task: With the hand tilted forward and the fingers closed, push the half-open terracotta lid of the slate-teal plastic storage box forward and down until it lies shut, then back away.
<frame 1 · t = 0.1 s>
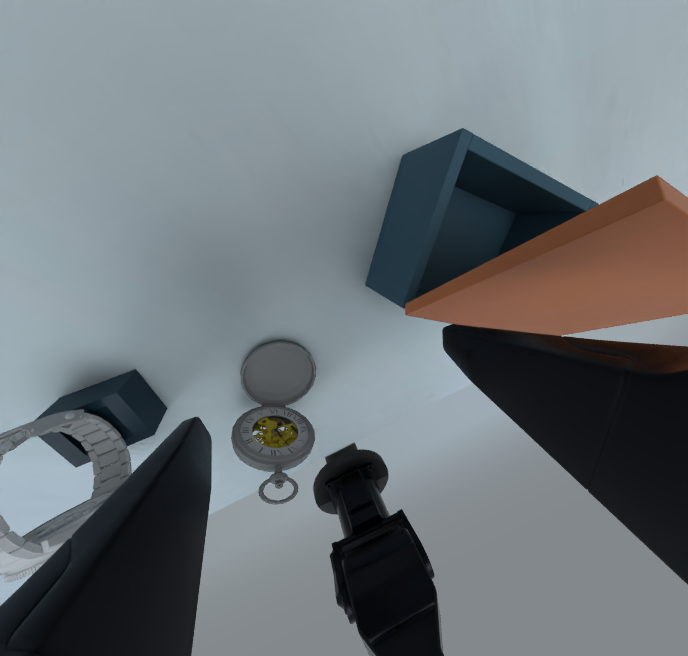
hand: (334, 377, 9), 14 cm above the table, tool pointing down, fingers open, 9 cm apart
box lid: (566, 299, 14), point 12 cm above the table, hinge at 55.0°
watch: (119, 402, 21), on the table
pocket watch: (275, 380, 25), on the table
storage box: (444, 245, 24), on the table
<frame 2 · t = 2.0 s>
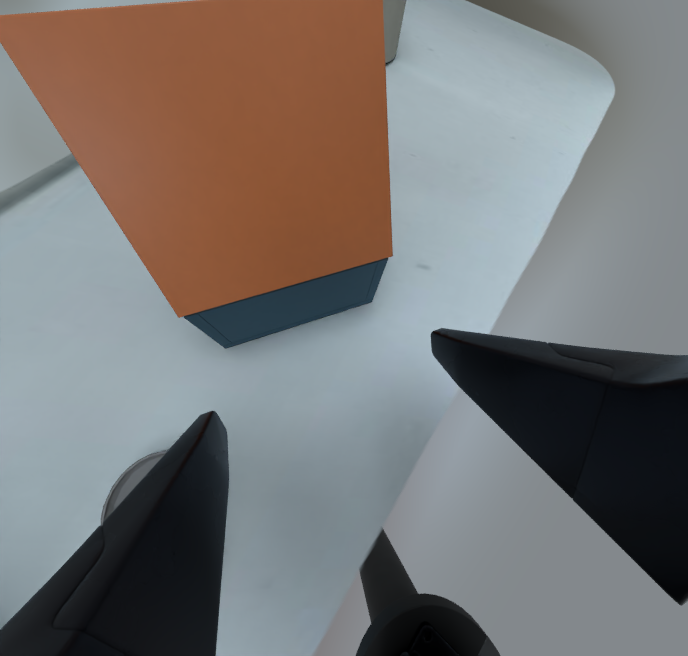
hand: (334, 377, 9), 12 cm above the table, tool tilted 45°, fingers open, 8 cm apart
box lid: (262, 179, 13), point 12 cm above the table, hinge at 55.0°
travel mug: (369, 54, 39), on the table
pocket watch: (166, 521, 17), on the table
storage box: (285, 275, 25), on the table
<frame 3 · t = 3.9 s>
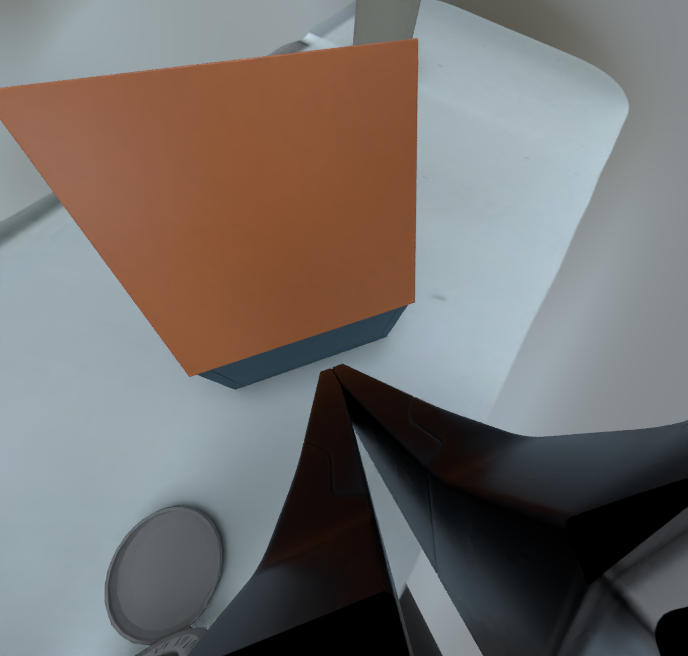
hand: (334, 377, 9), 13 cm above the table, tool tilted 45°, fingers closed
box lid: (281, 236, 12), point 12 cm above the table, hinge at 55.0°
travel mug: (377, 70, 38), on the table
pocket watch: (174, 584, 16), on the table
storage box: (296, 308, 24), on the table
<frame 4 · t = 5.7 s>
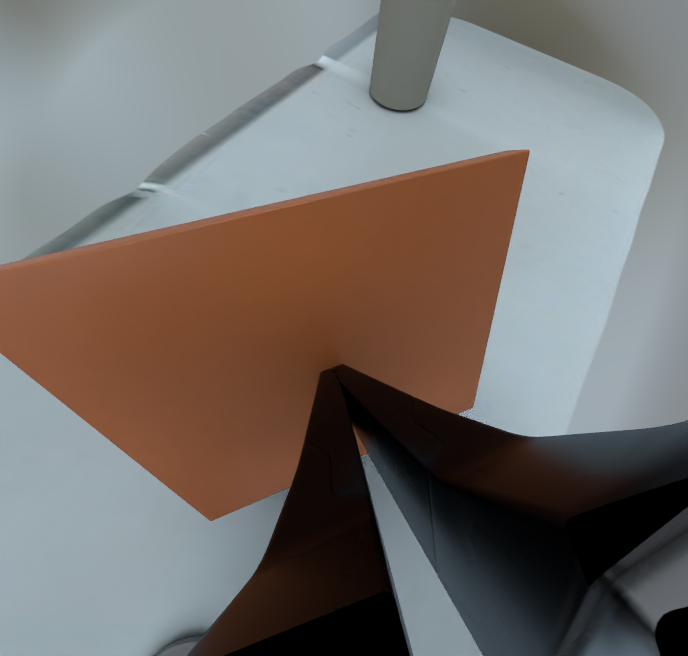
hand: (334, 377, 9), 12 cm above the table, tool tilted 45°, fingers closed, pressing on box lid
box lid: (331, 370, 9), point 12 cm above the table, hinge at 54.8°, touching gripper
travel mug: (397, 96, 36), on the table
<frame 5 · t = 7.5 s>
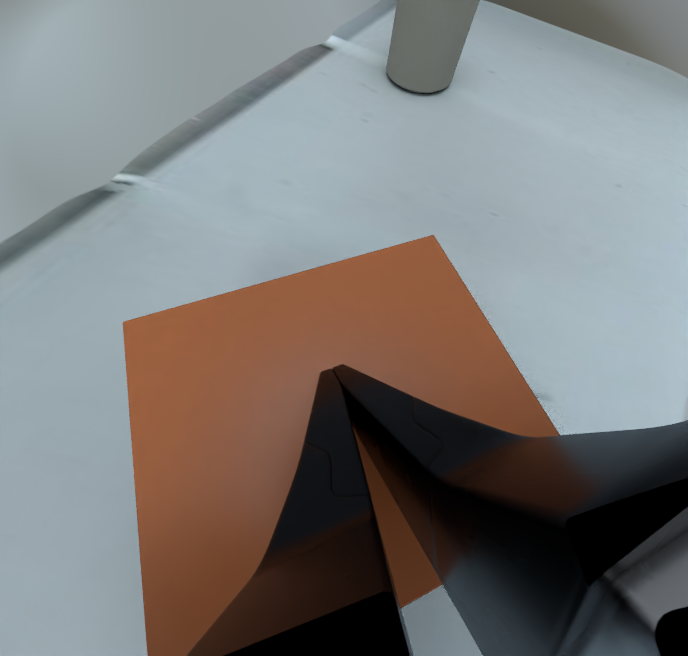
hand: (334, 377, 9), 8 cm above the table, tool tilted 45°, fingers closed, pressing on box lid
box lid: (341, 403, 9), point 7 cm above the table, hinge at -0.3°, touching gripper, storage box
travel mug: (417, 78, 31), on the table
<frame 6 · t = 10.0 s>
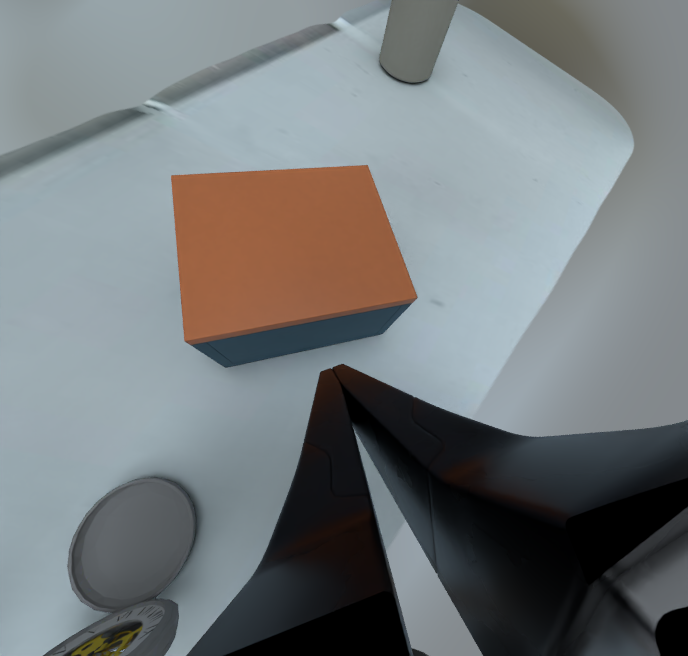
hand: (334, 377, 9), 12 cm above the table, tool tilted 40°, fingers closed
box lid: (293, 240, 17), point 7 cm above the table, hinge at -0.3°, touching storage box
travel mug: (404, 69, 38), on the table
pocket watch: (142, 555, 16), on the table
storage box: (296, 294, 23), on the table
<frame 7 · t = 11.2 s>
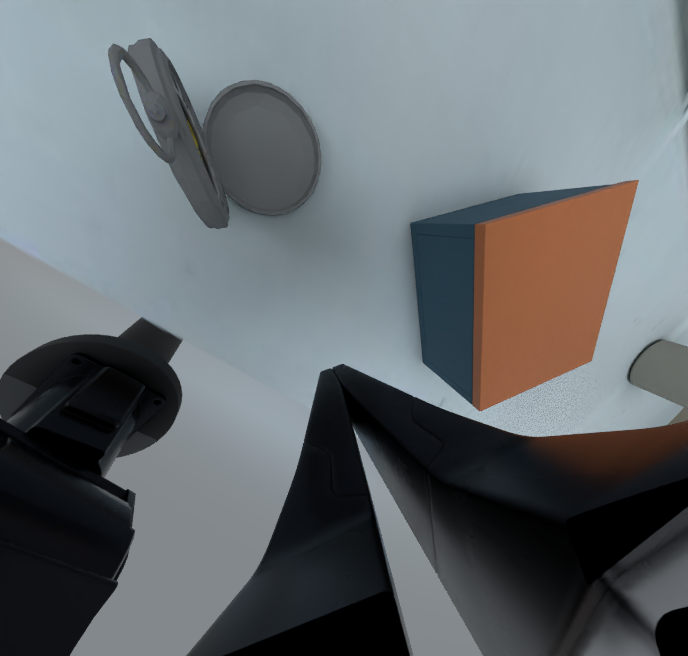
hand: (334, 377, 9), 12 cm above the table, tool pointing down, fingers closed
box lid: (545, 306, 18), point 7 cm above the table, hinge at -0.3°, touching storage box
travel mug: (645, 361, 41), on the table
pocket watch: (245, 158, 16), on the table
storage box: (466, 285, 24), on the table
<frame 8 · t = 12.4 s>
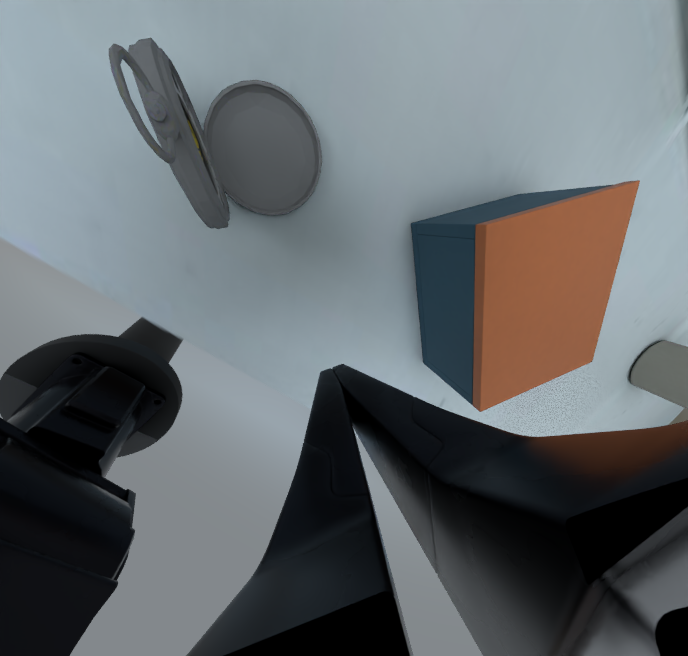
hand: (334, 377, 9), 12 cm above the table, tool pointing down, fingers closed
box lid: (545, 307, 18), point 7 cm above the table, hinge at -0.3°, touching storage box
travel mug: (645, 362, 41), on the table
pocket watch: (246, 158, 16), on the table
storage box: (467, 285, 24), on the table
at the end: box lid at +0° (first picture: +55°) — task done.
